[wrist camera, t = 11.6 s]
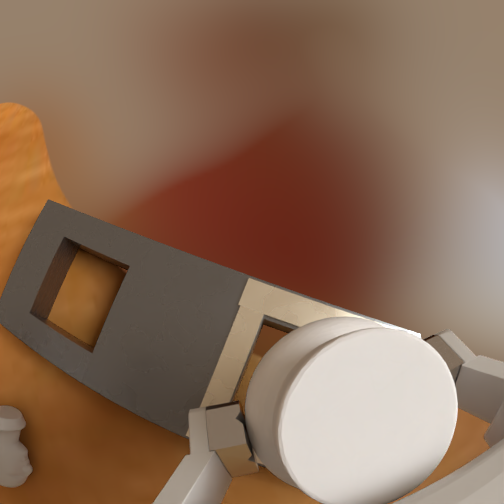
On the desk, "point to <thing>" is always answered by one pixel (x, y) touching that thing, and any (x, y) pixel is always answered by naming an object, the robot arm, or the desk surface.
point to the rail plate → (150, 318)
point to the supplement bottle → (351, 411)
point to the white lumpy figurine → (12, 448)
